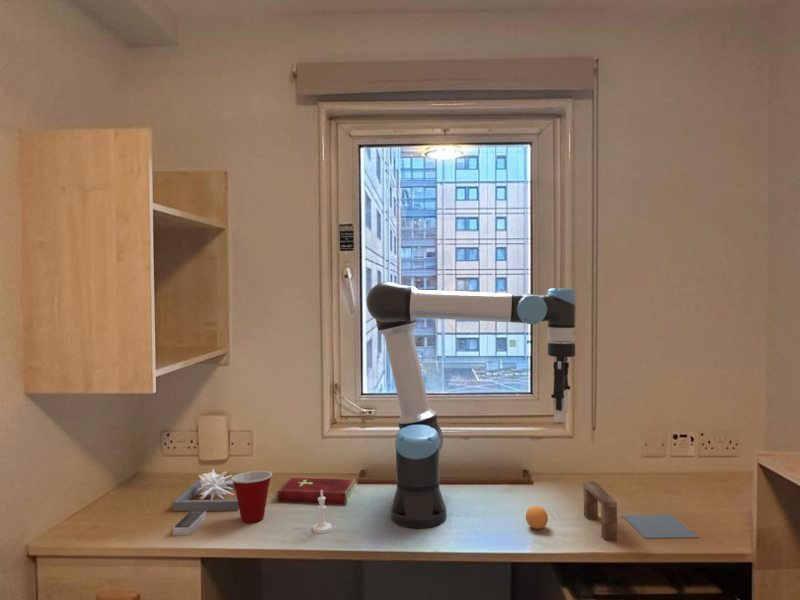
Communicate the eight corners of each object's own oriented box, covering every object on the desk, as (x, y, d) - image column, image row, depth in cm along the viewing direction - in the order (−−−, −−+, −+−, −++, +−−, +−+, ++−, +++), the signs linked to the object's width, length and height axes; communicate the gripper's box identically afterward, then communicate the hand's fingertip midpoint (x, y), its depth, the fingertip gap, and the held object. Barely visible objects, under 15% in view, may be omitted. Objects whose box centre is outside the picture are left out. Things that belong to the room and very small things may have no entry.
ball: (528, 533, 130) (528, 510, 130) (523, 523, 136) (523, 502, 136) (550, 532, 130) (550, 510, 130) (544, 523, 136) (544, 502, 136)
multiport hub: (172, 537, 132) (172, 527, 132) (190, 518, 143) (190, 510, 143) (189, 536, 132) (189, 527, 132) (206, 518, 143) (206, 510, 143)
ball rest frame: (172, 511, 147) (172, 502, 147) (198, 487, 166) (198, 479, 166) (238, 510, 147) (238, 501, 147) (256, 486, 166) (256, 478, 166)
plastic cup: (270, 508, 148) (269, 466, 148) (275, 523, 138) (275, 477, 138) (230, 514, 144) (229, 471, 144) (232, 530, 134) (232, 483, 134)
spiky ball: (236, 492, 164) (235, 465, 165) (239, 502, 152) (238, 472, 153) (197, 497, 160) (197, 469, 160) (197, 507, 148) (197, 477, 149)
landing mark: (645, 538, 126) (645, 537, 126) (622, 516, 139) (622, 515, 139) (698, 537, 126) (698, 536, 126) (671, 515, 139) (671, 514, 139)
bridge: (604, 540, 125) (604, 502, 125) (584, 515, 140) (583, 481, 140) (617, 540, 125) (616, 502, 125) (595, 515, 140) (594, 481, 140)
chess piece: (313, 534, 131) (313, 494, 131) (311, 526, 136) (310, 488, 136) (333, 531, 132) (332, 492, 132) (330, 523, 137) (329, 486, 137)
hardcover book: (346, 506, 150) (346, 492, 150) (276, 503, 153) (276, 489, 153) (356, 491, 162) (355, 478, 162) (291, 489, 165) (291, 475, 165)
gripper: (572, 346, 136) (572, 427, 136) (577, 339, 159) (577, 409, 159) (542, 345, 138) (542, 425, 139) (552, 338, 162) (551, 407, 162)
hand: (561, 416), depth 149 cm, fingers open, 13 cm apart
